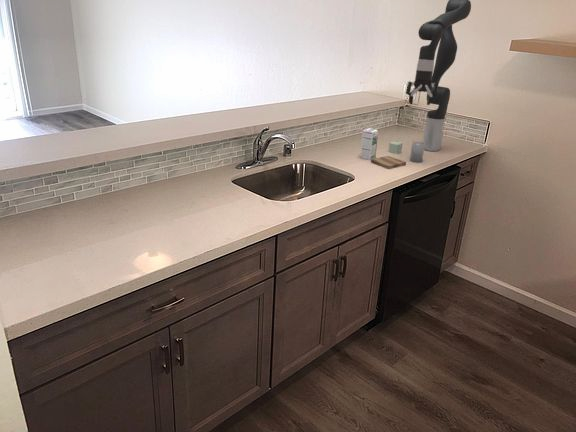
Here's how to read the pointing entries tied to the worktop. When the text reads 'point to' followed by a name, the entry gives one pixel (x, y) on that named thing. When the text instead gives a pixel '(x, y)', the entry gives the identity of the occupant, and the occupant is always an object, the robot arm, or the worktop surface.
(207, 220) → the worktop surface
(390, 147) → the sage block
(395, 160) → the walnut board
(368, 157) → the syrup box
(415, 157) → the grey rounded cylinder
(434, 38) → the robot arm
